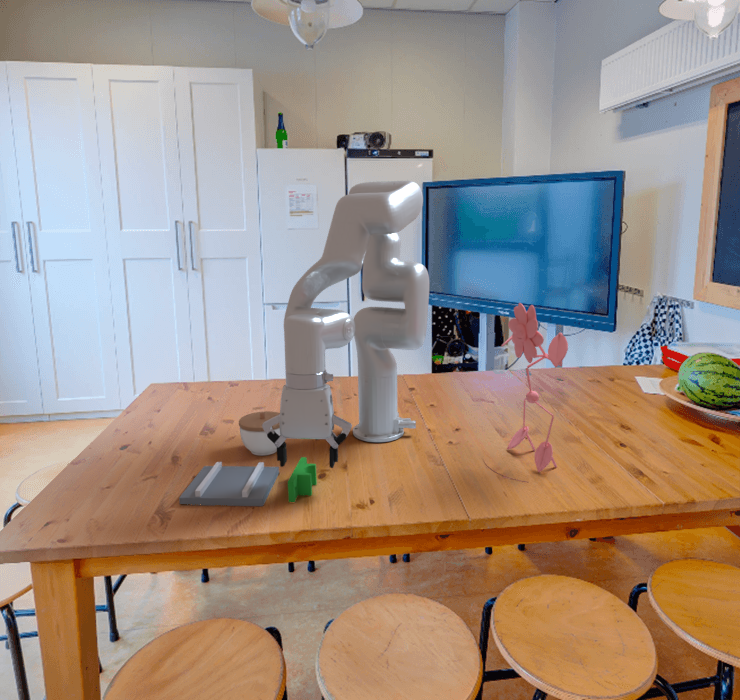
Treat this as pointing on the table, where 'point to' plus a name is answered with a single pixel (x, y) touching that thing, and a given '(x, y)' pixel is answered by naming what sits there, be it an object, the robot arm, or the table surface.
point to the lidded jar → (258, 433)
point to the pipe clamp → (302, 479)
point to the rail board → (231, 485)
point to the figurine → (525, 343)
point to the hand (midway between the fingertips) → (307, 464)
